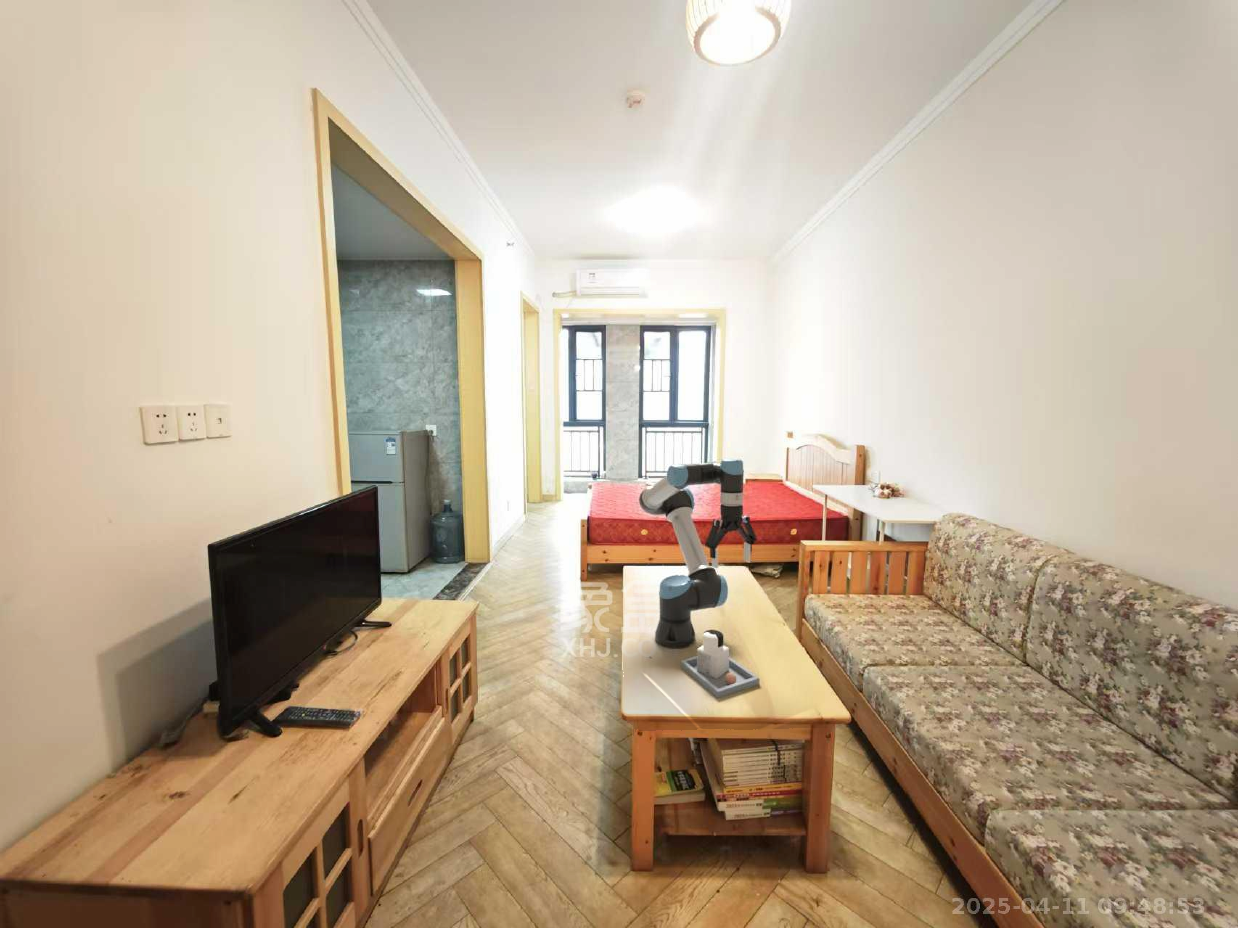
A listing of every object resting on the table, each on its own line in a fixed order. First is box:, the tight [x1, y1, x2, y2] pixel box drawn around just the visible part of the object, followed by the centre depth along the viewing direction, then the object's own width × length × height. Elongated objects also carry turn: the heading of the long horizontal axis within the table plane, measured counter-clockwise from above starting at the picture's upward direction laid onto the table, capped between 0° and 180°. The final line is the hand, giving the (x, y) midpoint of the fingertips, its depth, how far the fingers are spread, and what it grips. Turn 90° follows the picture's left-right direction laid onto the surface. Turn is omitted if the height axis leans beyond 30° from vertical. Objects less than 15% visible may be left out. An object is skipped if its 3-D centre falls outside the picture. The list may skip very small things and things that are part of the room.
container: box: [696, 629, 730, 679], centre depth 155 cm, size 8×8×13 cm
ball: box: [725, 673, 736, 685], centre depth 148 cm, size 4×4×4 cm
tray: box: [680, 655, 760, 699], centre depth 153 cm, size 20×16×3 cm
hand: (731, 564), depth 165 cm, fingers open, 13 cm apart
